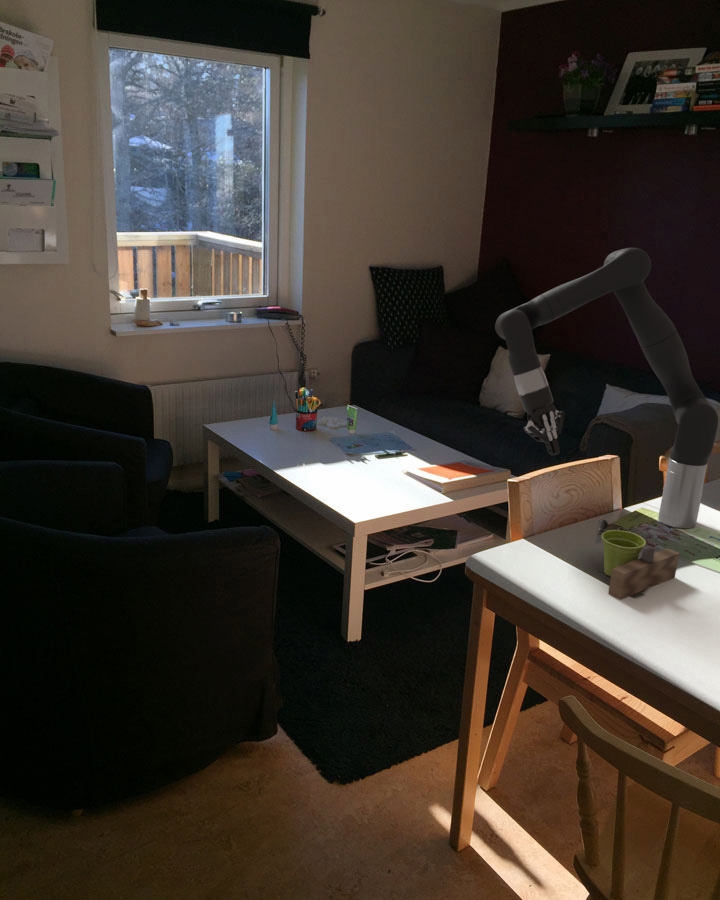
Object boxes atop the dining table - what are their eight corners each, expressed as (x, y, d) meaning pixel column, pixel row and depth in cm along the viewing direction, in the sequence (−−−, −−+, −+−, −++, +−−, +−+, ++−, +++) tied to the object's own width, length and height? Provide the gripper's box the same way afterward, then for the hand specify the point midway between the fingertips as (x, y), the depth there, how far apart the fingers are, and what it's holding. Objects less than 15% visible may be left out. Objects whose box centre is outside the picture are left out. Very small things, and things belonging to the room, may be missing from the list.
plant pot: (617, 586, 174) (624, 550, 172) (587, 568, 182) (592, 533, 179) (648, 579, 179) (655, 543, 176) (617, 561, 187) (623, 527, 184)
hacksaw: (598, 522, 210) (599, 517, 209) (639, 530, 207) (640, 524, 206) (591, 559, 188) (592, 553, 188) (637, 568, 185) (638, 562, 184)
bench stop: (663, 572, 182) (669, 535, 180) (674, 577, 180) (681, 540, 177) (608, 593, 171) (614, 555, 168) (619, 599, 169) (626, 561, 166)
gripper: (541, 383, 204) (562, 446, 205) (504, 399, 197) (526, 464, 199) (562, 378, 197) (584, 444, 199) (524, 394, 191) (547, 462, 192)
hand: (555, 454), depth 199 cm, fingers closed
